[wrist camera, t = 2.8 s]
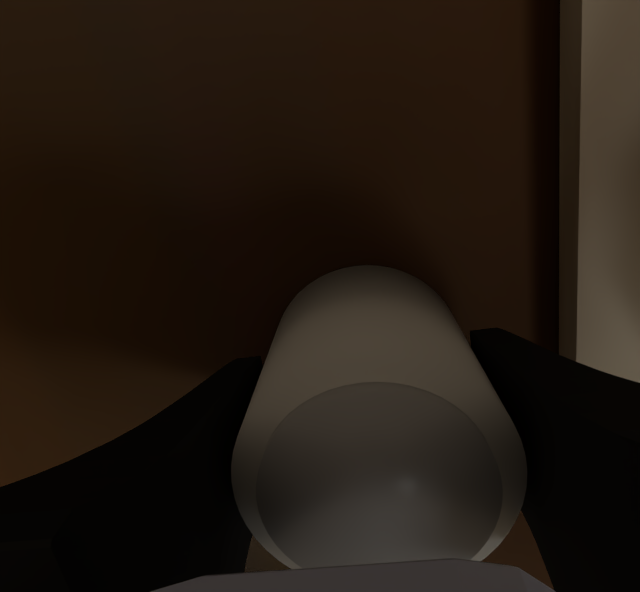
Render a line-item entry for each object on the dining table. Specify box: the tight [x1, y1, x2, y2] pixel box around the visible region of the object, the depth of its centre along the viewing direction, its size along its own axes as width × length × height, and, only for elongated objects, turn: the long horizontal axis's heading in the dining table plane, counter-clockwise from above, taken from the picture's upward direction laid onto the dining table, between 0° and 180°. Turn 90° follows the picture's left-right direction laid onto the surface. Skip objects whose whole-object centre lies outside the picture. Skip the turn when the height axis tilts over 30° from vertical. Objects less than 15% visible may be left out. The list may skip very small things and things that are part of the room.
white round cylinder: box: [231, 265, 527, 569], centre depth 10 cm, size 5×5×5 cm
